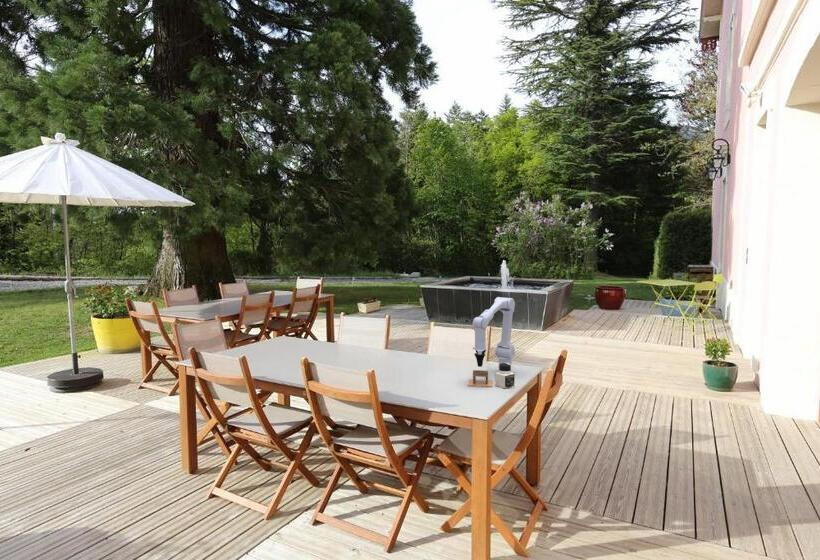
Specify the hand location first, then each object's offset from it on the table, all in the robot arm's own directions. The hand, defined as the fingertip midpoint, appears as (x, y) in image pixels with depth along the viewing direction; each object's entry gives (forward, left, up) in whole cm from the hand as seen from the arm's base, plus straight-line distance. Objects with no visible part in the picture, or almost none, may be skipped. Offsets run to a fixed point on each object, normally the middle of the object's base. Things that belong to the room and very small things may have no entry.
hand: (480, 364), depth 281 cm
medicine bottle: (+3, +13, -11) cm, 17 cm away
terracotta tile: (0, 0, -10) cm, 10 cm away
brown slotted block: (0, 0, -10) cm, 10 cm away
